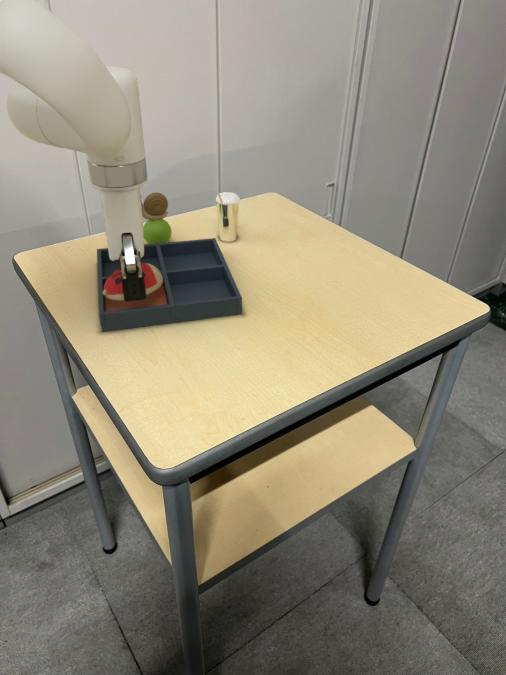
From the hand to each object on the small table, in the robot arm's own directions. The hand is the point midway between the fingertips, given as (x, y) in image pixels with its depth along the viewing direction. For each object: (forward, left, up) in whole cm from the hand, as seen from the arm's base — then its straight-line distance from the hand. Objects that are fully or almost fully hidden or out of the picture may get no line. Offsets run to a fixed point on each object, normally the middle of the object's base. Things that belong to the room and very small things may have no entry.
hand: (133, 285), depth 79 cm
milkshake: (+19, +21, -4) cm, 29 cm away
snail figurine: (+5, +21, -4) cm, 22 cm away
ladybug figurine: (0, 0, -1) cm, 1 cm away
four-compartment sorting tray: (+5, +5, -4) cm, 8 cm away
